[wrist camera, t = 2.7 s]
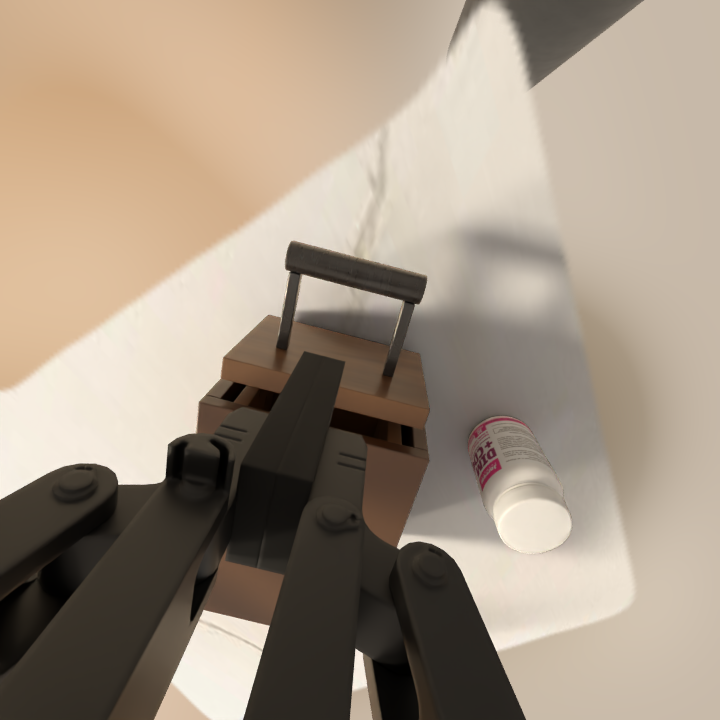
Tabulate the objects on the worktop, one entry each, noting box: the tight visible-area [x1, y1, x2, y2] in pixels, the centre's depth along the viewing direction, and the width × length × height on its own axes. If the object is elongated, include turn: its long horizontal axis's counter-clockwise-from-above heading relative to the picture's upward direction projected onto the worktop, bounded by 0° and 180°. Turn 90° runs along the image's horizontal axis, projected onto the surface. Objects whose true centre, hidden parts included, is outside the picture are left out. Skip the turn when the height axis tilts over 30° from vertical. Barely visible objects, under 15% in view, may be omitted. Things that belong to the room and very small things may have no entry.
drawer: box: [221, 241, 430, 445], centre depth 25 cm, size 19×10×8 cm, turn 166°
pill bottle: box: [468, 416, 573, 554], centre depth 26 cm, size 5×5×8 cm
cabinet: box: [196, 379, 429, 626], centre depth 27 cm, size 15×12×10 cm
